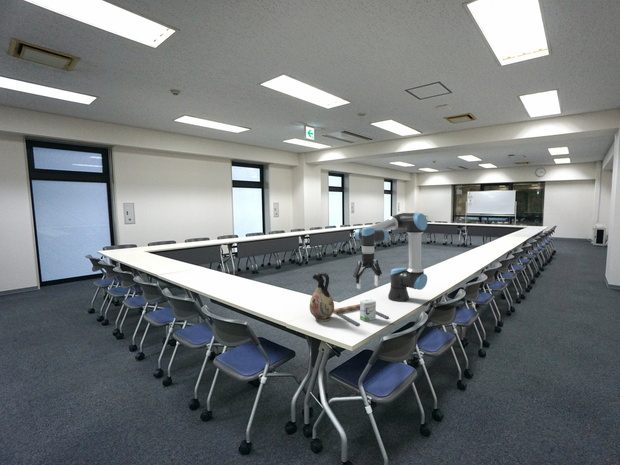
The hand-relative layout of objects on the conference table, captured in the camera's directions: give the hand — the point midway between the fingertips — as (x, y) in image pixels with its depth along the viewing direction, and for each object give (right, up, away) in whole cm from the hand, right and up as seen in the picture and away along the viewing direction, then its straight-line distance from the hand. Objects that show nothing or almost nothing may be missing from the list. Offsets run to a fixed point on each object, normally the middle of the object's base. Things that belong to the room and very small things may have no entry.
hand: (367, 287), depth 182 cm
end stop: (-8, -19, +18) cm, 28 cm away
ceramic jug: (-27, -21, +3) cm, 34 cm away
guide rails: (-2, -20, +7) cm, 21 cm away
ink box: (0, -20, +2) cm, 21 cm away
